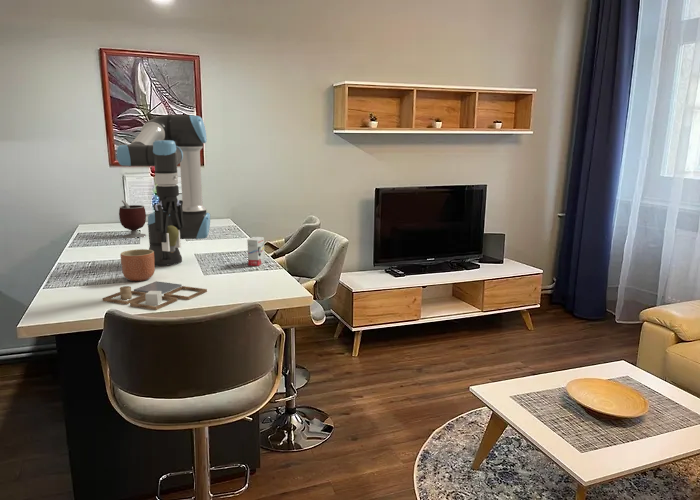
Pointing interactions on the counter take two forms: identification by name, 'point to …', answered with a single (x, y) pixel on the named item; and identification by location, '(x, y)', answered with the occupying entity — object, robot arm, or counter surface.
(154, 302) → the grey cube
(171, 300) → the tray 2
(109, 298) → the wooden square frame
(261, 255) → the ink box
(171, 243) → the light bulb
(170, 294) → the brown square outline
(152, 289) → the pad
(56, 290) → the counter surface
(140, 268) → the planter
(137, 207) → the mate gourd
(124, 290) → the cork stub
